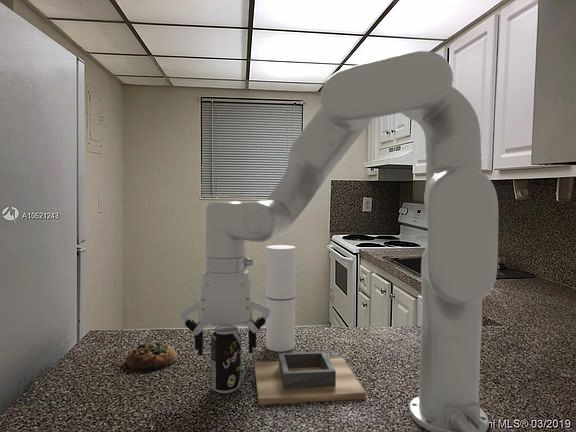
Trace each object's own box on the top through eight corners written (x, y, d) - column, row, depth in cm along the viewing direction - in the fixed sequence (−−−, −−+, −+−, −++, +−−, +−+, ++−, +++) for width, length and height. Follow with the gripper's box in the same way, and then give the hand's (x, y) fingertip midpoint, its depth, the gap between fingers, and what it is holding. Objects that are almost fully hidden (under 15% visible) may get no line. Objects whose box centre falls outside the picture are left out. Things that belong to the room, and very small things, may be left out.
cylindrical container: (269, 352, 99) (270, 249, 97) (263, 342, 106) (263, 245, 104) (298, 349, 101) (299, 248, 99) (290, 339, 108) (291, 244, 106)
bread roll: (125, 375, 86) (126, 350, 87) (125, 362, 97) (126, 340, 97) (179, 369, 90) (180, 346, 91) (174, 357, 101) (174, 336, 101)
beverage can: (244, 383, 83) (244, 325, 82) (234, 397, 77) (234, 334, 77) (218, 380, 84) (218, 322, 84) (206, 393, 79) (205, 331, 78)
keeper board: (365, 398, 77) (365, 376, 77) (258, 404, 75) (258, 382, 74) (343, 363, 93) (343, 345, 93) (254, 367, 90) (254, 348, 90)
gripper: (269, 261, 84) (268, 343, 85) (182, 262, 82) (183, 346, 83) (272, 267, 77) (271, 357, 78) (176, 269, 75) (177, 361, 76)
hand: (225, 351), depth 80 cm, fingers open, 9 cm apart
